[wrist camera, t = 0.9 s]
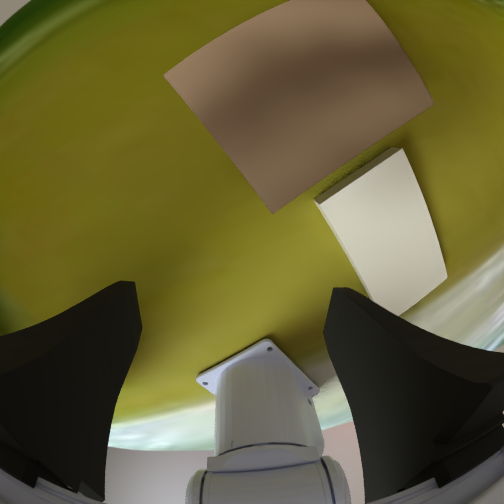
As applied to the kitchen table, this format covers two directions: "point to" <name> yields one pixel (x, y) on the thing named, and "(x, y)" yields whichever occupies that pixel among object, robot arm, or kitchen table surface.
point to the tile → (386, 231)
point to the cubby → (301, 92)
